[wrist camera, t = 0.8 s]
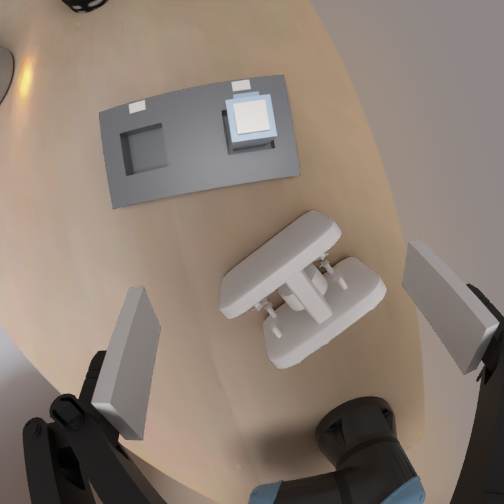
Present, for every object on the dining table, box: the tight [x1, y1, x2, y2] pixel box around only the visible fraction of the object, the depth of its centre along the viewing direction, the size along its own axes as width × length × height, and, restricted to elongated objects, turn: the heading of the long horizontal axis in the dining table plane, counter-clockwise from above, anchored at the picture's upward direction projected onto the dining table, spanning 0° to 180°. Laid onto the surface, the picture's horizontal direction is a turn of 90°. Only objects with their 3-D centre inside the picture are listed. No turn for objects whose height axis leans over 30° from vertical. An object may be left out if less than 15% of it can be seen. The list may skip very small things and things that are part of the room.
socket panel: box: [99, 75, 301, 209], centre depth 34 cm, size 12×22×4 cm, turn 99°
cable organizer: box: [218, 210, 387, 369], centre depth 34 cm, size 15×11×12 cm
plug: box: [225, 91, 277, 151], centre depth 30 cm, size 5×4×11 cm
